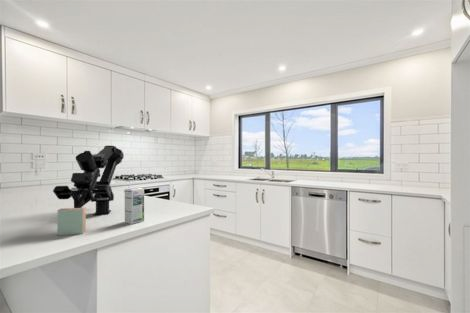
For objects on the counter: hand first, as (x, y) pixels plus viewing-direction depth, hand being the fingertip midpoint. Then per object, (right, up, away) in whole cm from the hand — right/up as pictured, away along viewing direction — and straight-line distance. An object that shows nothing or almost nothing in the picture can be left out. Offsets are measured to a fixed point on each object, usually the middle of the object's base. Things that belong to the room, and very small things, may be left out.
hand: (75, 210), depth 79 cm
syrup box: (+16, -8, +12) cm, 22 cm away
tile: (0, -8, -3) cm, 8 cm away
